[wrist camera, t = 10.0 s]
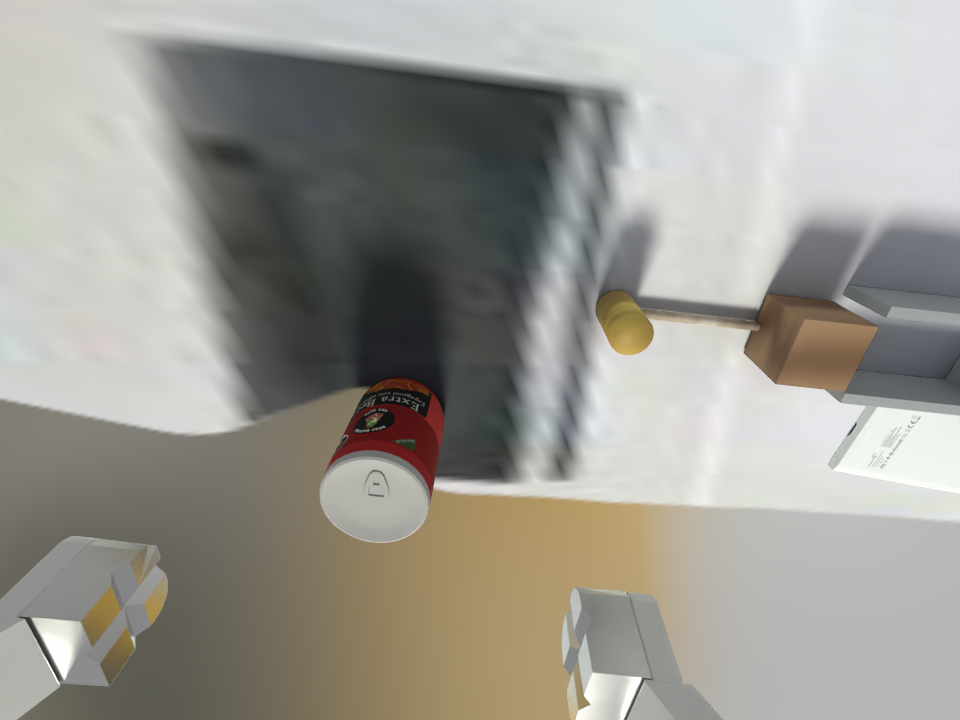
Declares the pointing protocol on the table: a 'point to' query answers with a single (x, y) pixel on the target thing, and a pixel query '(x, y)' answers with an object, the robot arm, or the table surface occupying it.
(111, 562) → the robot arm
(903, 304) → the lane
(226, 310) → the table surface
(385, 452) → the canned food
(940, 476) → the external hard drive
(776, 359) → the towed block
